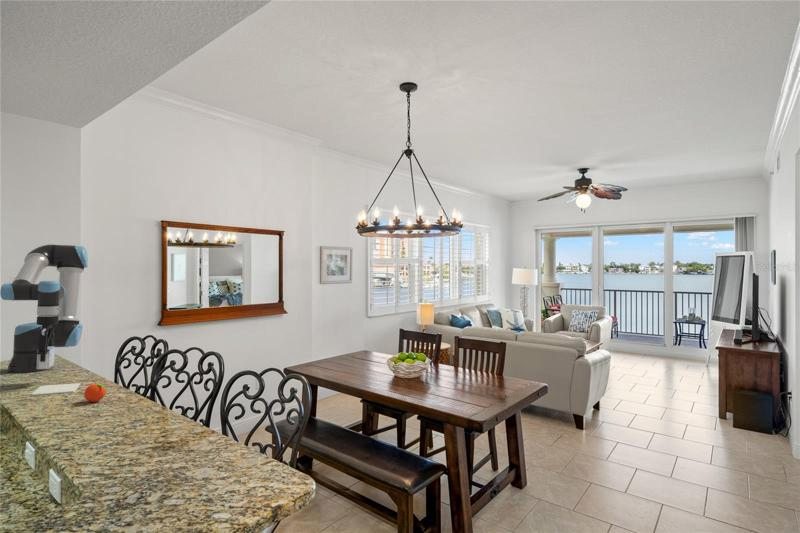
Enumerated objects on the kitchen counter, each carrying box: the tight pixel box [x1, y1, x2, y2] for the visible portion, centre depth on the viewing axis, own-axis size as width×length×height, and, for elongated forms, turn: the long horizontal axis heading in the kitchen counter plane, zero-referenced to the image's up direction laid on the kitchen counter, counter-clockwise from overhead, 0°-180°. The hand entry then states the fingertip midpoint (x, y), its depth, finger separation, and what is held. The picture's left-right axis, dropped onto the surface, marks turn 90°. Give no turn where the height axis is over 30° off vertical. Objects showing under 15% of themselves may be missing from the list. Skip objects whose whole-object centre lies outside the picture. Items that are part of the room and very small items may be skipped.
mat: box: [30, 382, 81, 397], centre depth 181 cm, size 14×14×1 cm
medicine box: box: [36, 346, 56, 370], centre depth 190 cm, size 8×4×9 cm, turn 25°
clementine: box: [83, 382, 107, 403], centre depth 167 cm, size 8×7×7 cm
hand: (45, 366), depth 190 cm, fingers closed on medicine box, 8 cm apart
